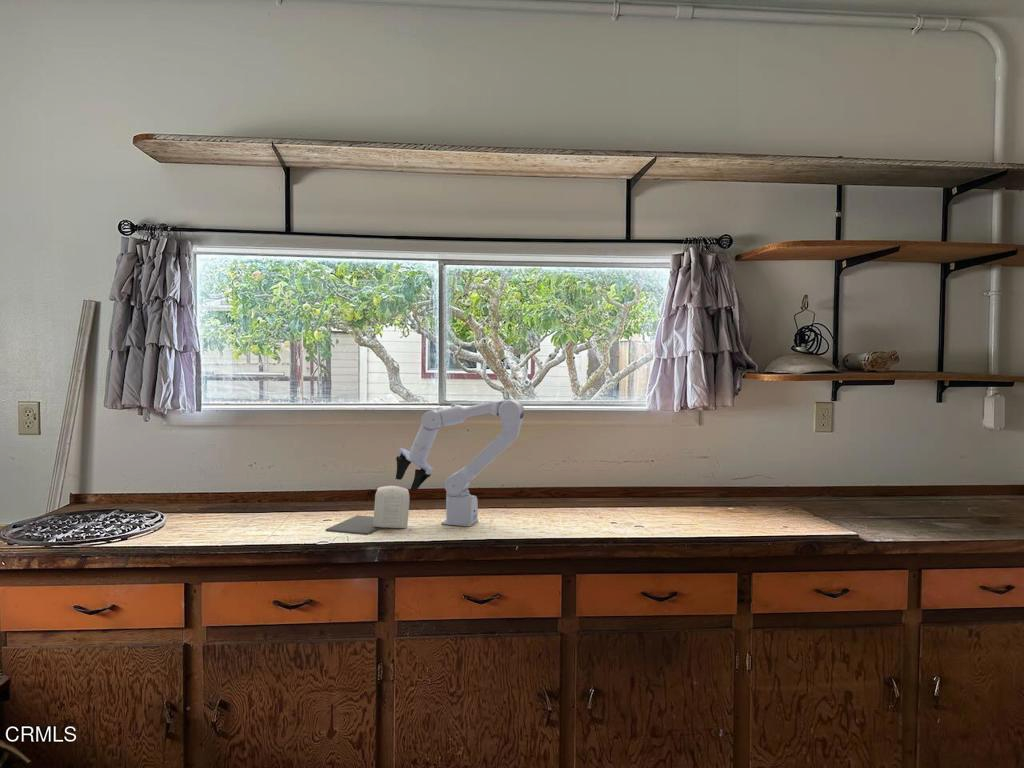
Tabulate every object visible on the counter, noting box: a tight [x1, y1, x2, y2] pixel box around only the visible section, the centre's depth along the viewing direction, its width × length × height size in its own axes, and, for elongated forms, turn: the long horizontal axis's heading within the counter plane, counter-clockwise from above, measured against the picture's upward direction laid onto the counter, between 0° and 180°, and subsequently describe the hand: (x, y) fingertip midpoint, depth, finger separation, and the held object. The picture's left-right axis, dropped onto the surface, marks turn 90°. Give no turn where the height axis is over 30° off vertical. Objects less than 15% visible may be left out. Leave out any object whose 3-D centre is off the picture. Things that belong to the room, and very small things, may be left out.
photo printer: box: [373, 485, 411, 529], centre depth 190 cm, size 10×4×12 cm, turn 98°
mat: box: [325, 514, 383, 536], centre depth 193 cm, size 14×18×1 cm
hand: (405, 484), depth 199 cm, fingers open, 7 cm apart
